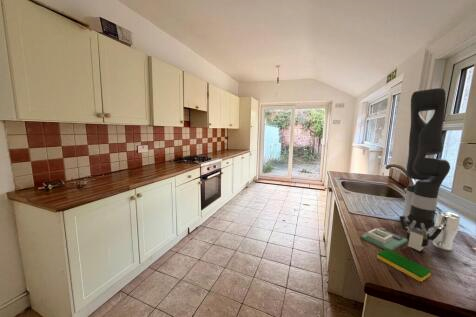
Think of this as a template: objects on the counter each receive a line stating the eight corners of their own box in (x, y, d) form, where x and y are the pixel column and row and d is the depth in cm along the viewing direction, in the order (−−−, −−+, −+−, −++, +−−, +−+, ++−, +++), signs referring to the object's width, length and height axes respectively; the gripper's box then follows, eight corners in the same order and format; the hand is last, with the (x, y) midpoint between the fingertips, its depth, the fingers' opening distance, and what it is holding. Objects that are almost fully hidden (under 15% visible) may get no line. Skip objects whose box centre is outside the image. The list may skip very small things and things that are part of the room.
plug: (411, 243, 86) (414, 226, 85) (423, 248, 82) (427, 230, 81) (407, 245, 84) (410, 228, 83) (420, 251, 80) (423, 233, 79)
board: (378, 229, 99) (378, 224, 98) (407, 241, 89) (408, 235, 88) (360, 237, 91) (361, 231, 91) (390, 252, 81) (391, 245, 80)
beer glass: (450, 253, 81) (457, 219, 79) (428, 244, 87) (434, 212, 85) (456, 248, 85) (463, 216, 82) (434, 240, 91) (440, 210, 88)
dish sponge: (386, 253, 80) (386, 248, 80) (430, 276, 68) (431, 270, 68) (376, 258, 77) (377, 253, 77) (420, 283, 65) (422, 276, 65)
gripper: (450, 210, 76) (442, 250, 79) (405, 198, 88) (400, 233, 91) (444, 214, 72) (436, 255, 75) (398, 201, 84) (392, 237, 87)
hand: (416, 243), depth 83 cm, fingers closed on plug, 4 cm apart
